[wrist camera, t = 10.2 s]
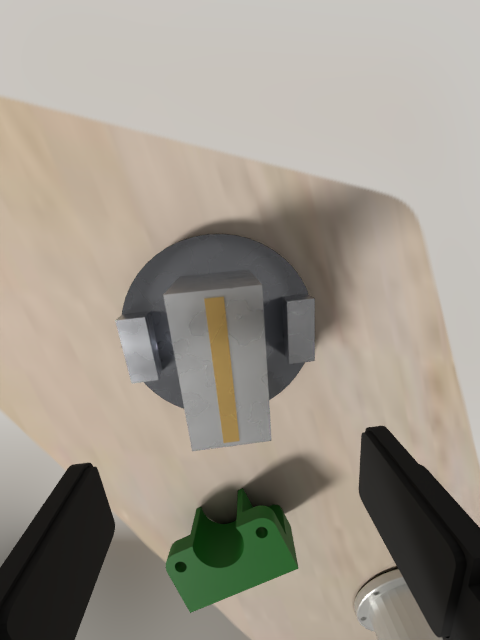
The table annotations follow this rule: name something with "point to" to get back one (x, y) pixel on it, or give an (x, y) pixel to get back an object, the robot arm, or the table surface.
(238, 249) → the shallow grey dish
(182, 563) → the clamp
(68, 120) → the table surface
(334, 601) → the table surface
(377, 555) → the table surface
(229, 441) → the striped grey block
